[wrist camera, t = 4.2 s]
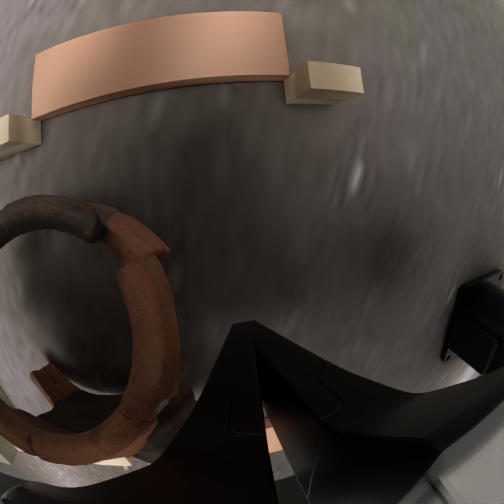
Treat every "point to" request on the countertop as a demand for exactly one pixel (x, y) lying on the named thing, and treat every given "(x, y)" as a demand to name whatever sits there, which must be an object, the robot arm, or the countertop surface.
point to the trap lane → (168, 83)
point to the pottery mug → (143, 356)
